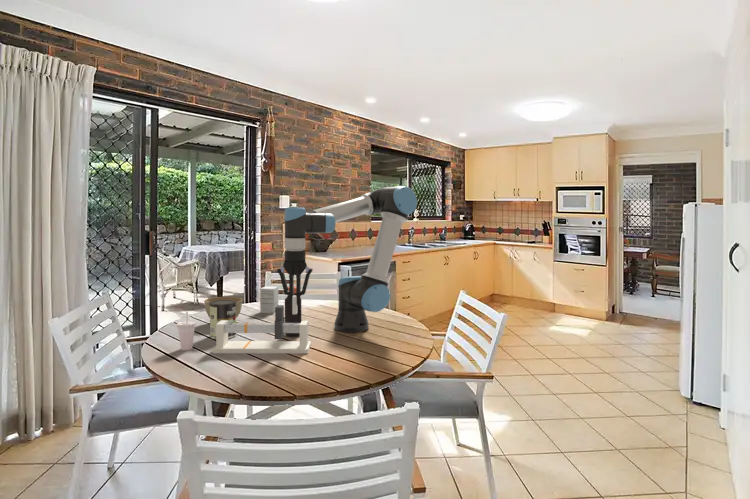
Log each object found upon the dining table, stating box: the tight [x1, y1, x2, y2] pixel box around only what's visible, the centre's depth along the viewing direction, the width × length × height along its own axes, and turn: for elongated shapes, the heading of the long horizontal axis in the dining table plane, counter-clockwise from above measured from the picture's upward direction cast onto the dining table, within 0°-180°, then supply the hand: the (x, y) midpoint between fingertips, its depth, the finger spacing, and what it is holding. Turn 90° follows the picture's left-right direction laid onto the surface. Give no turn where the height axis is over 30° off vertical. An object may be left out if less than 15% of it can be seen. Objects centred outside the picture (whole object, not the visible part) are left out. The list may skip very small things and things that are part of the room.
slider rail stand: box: [211, 320, 312, 354], centre depth 158 cm, size 34×10×10 cm, turn 92°
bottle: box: [284, 285, 302, 338], centre depth 177 cm, size 7×7×20 cm
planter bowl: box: [204, 296, 243, 319], centre depth 194 cm, size 16×16×11 cm
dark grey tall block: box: [274, 304, 285, 340], centre depth 158 cm, size 2×7×11 cm, turn 2°
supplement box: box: [259, 285, 279, 314], centre depth 218 cm, size 7×7×13 cm
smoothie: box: [176, 310, 197, 351], centre depth 157 cm, size 6×6×14 cm
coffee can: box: [209, 300, 238, 340], centre depth 174 cm, size 10×10×14 cm
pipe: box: [224, 322, 300, 334], centre depth 158 cm, size 29×3×3 cm, turn 92°
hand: (294, 313), depth 158 cm, fingers closed
